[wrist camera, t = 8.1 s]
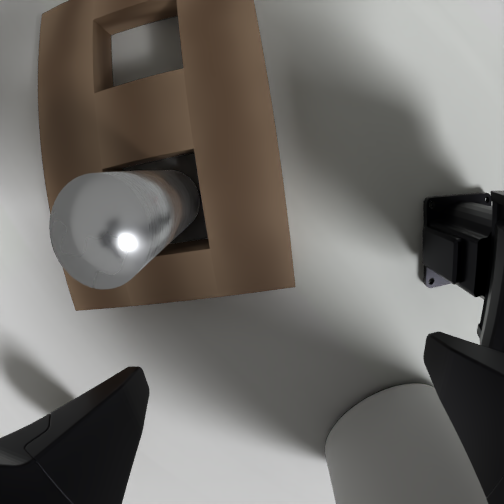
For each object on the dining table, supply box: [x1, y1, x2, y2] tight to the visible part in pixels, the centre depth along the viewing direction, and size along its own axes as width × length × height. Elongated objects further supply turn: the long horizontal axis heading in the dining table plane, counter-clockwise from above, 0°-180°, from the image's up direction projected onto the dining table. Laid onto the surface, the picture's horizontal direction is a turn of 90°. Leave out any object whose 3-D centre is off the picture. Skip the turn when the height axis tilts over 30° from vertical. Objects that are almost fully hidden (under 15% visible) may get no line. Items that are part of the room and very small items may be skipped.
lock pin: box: [50, 170, 200, 289], centre depth 14 cm, size 4×4×10 cm
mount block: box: [38, 0, 295, 311], centre depth 17 cm, size 14×21×3 cm, turn 8°
